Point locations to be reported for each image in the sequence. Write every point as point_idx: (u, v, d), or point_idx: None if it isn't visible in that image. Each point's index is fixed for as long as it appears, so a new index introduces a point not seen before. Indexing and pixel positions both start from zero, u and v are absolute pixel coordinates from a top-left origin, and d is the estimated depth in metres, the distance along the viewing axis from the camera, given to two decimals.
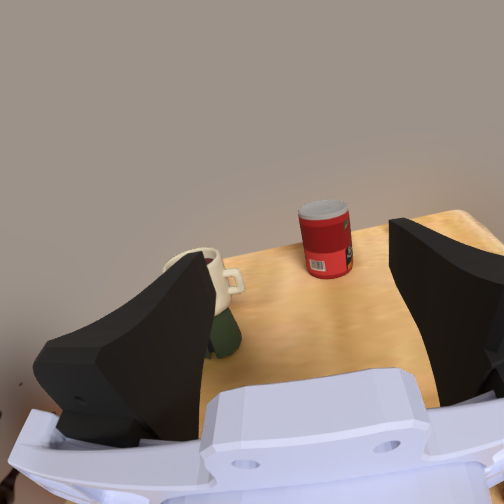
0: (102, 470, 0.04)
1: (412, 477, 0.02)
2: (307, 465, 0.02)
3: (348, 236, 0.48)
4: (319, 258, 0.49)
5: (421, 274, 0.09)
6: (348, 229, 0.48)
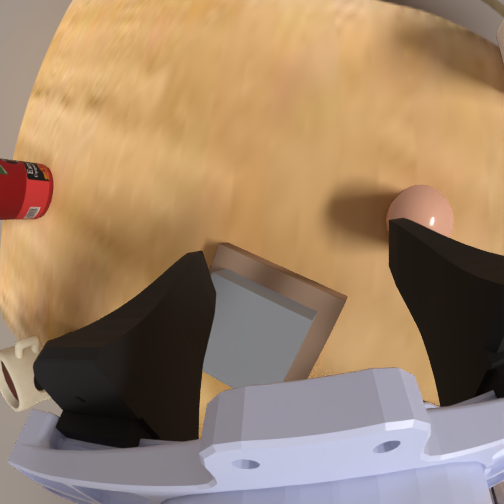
0: (102, 470, 0.04)
1: (412, 477, 0.02)
2: (307, 465, 0.02)
3: (16, 170, 0.30)
4: (25, 211, 0.33)
5: (421, 274, 0.09)
6: (9, 167, 0.29)
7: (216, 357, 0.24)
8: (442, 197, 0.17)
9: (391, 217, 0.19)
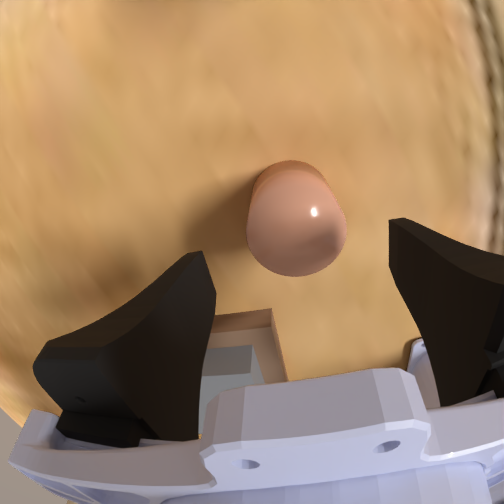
0: (102, 470, 0.04)
1: (412, 477, 0.02)
2: (307, 465, 0.02)
3: None
4: None
5: (421, 274, 0.09)
6: None
7: (200, 423, 0.22)
8: (309, 190, 0.13)
9: (255, 255, 0.14)
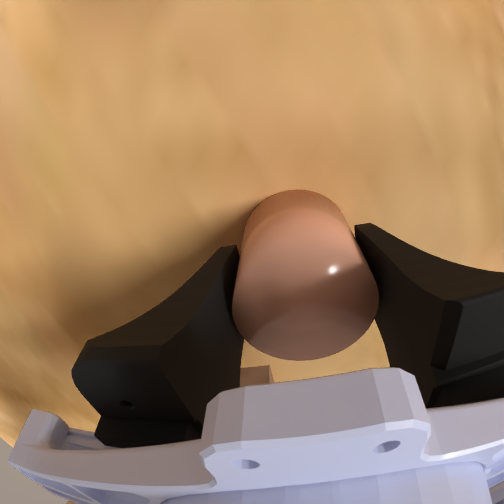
0: (102, 470, 0.04)
1: (412, 477, 0.02)
2: (307, 465, 0.02)
3: None
4: None
5: (381, 282, 0.09)
6: None
7: None
8: (328, 252, 0.08)
9: (246, 337, 0.10)
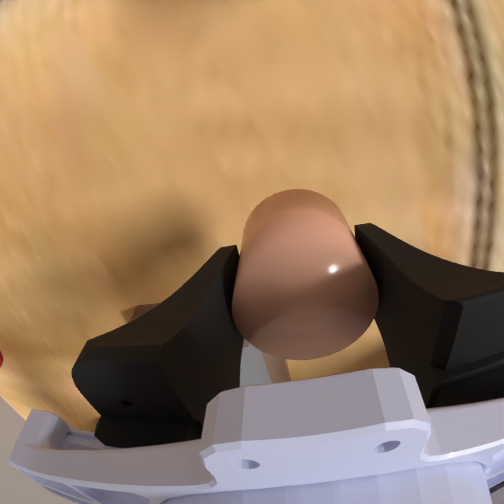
0: (102, 470, 0.04)
1: (412, 477, 0.02)
2: (307, 465, 0.02)
3: None
4: None
5: (381, 282, 0.09)
6: None
7: None
8: (328, 252, 0.08)
9: (246, 337, 0.10)
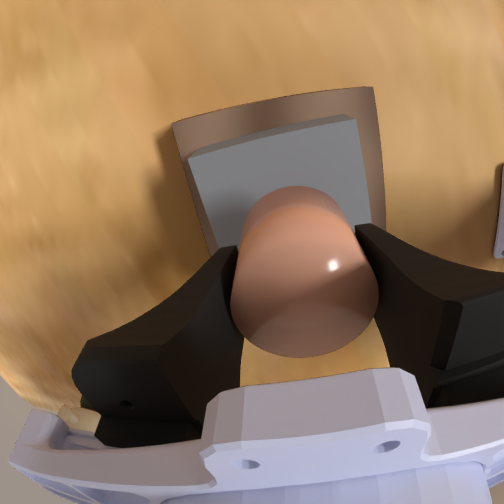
0: (102, 470, 0.04)
1: (412, 477, 0.02)
2: (307, 465, 0.02)
3: None
4: None
5: (381, 282, 0.09)
6: None
7: None
8: (331, 248, 0.08)
9: (243, 332, 0.10)
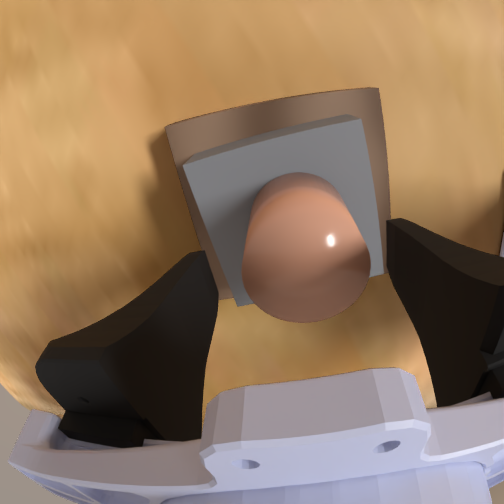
0: (102, 470, 0.04)
1: (412, 477, 0.02)
2: (307, 465, 0.02)
3: None
4: None
5: (418, 274, 0.09)
6: None
7: None
8: (329, 220, 0.10)
9: (252, 296, 0.11)
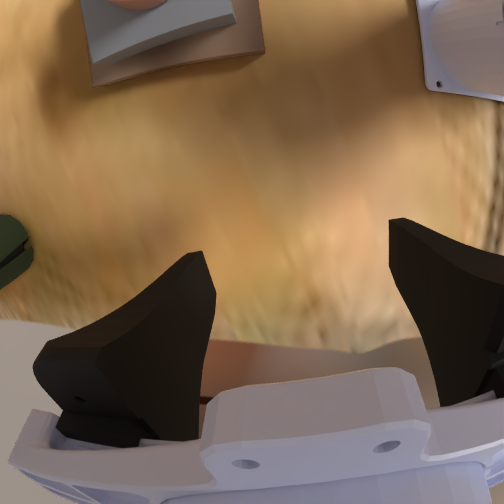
0: (102, 470, 0.04)
1: (412, 477, 0.02)
2: (307, 465, 0.02)
3: None
4: None
5: (421, 274, 0.09)
6: None
7: (127, 17, 0.12)
8: None
9: None
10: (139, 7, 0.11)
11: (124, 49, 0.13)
